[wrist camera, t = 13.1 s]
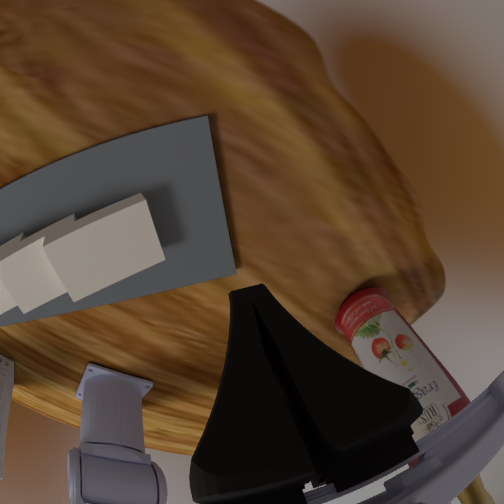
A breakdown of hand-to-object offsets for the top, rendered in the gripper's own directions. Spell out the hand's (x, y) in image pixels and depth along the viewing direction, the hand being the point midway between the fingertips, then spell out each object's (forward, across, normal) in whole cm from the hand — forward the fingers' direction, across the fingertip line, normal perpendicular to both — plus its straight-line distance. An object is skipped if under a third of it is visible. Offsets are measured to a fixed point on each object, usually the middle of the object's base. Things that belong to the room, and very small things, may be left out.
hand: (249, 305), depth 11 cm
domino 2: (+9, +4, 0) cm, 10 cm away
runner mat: (+10, +14, 0) cm, 17 cm away
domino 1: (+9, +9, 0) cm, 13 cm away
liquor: (+10, -13, +15) cm, 22 cm away
